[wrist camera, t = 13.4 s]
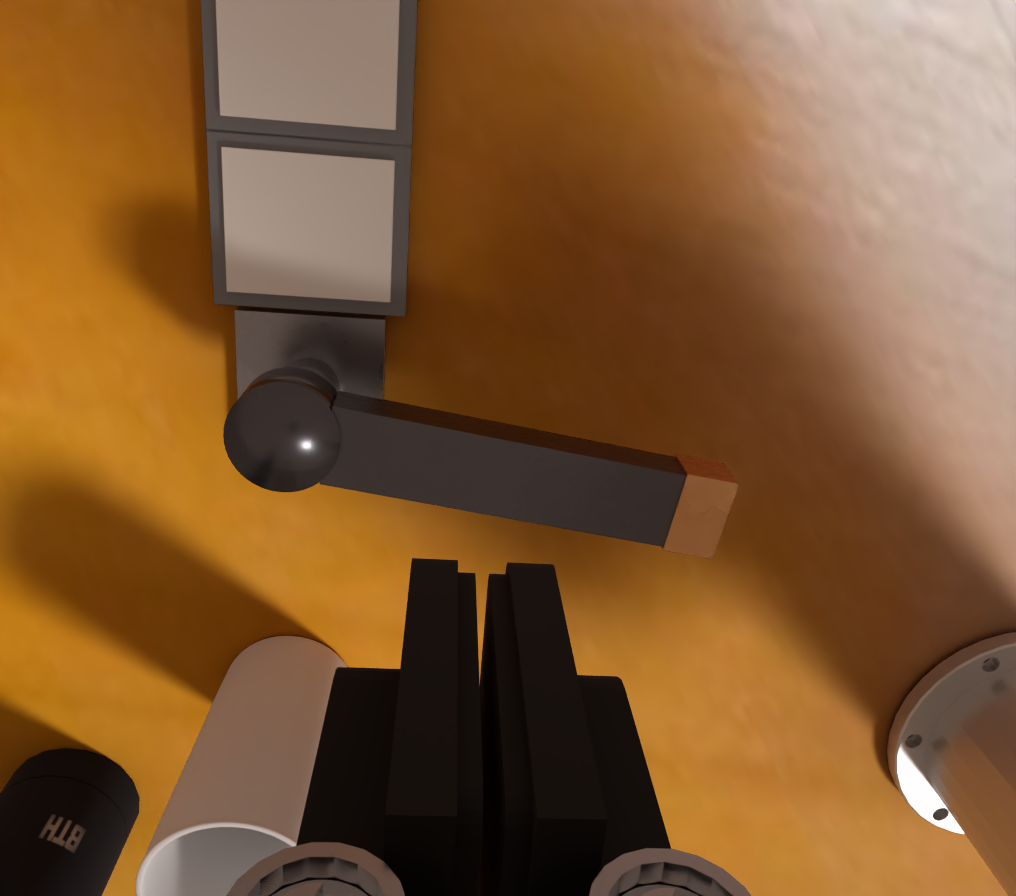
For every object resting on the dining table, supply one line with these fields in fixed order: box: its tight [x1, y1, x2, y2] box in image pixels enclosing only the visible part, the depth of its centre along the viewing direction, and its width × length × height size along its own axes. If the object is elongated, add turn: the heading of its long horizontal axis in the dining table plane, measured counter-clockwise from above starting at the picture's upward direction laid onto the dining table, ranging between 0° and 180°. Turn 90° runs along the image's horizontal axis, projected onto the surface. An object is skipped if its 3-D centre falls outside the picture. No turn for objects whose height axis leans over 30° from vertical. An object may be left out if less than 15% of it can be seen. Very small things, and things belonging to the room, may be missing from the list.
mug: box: [136, 636, 347, 896], centre depth 37 cm, size 10×7×12 cm, turn 39°
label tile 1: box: [201, 0, 418, 148], centre depth 31 cm, size 8×7×1 cm
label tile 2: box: [206, 128, 412, 316], centre depth 34 cm, size 8×7×1 cm
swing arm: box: [223, 367, 739, 559], centre depth 32 cm, size 18×4×2 cm, turn 77°
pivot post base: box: [234, 306, 386, 400], centre depth 35 cm, size 6×6×4 cm
